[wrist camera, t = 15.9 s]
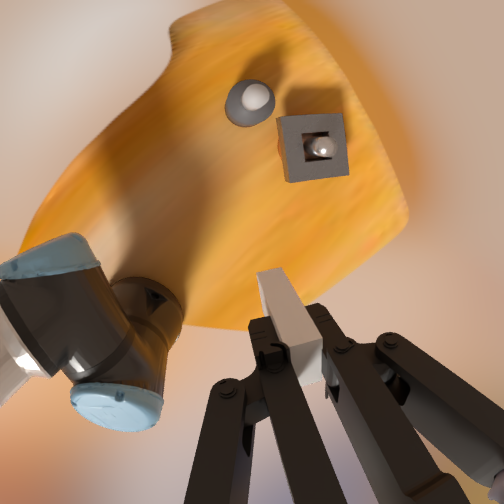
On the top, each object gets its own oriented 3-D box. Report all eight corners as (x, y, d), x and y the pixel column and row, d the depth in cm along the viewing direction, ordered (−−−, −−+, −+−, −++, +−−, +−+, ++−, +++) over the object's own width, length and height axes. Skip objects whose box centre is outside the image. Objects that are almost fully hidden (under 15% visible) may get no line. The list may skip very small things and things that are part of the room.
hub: (281, 176, 40) (300, 184, 32) (273, 122, 37) (291, 116, 28) (331, 169, 41) (360, 176, 32) (325, 118, 37) (353, 113, 29)
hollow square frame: (285, 180, 37) (289, 183, 35) (275, 118, 34) (280, 116, 31) (341, 173, 38) (349, 175, 36) (334, 114, 34) (342, 113, 32)
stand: (228, 130, 36) (234, 123, 27) (221, 92, 34) (225, 74, 25) (268, 124, 37) (287, 117, 27) (262, 87, 34) (278, 69, 25)
